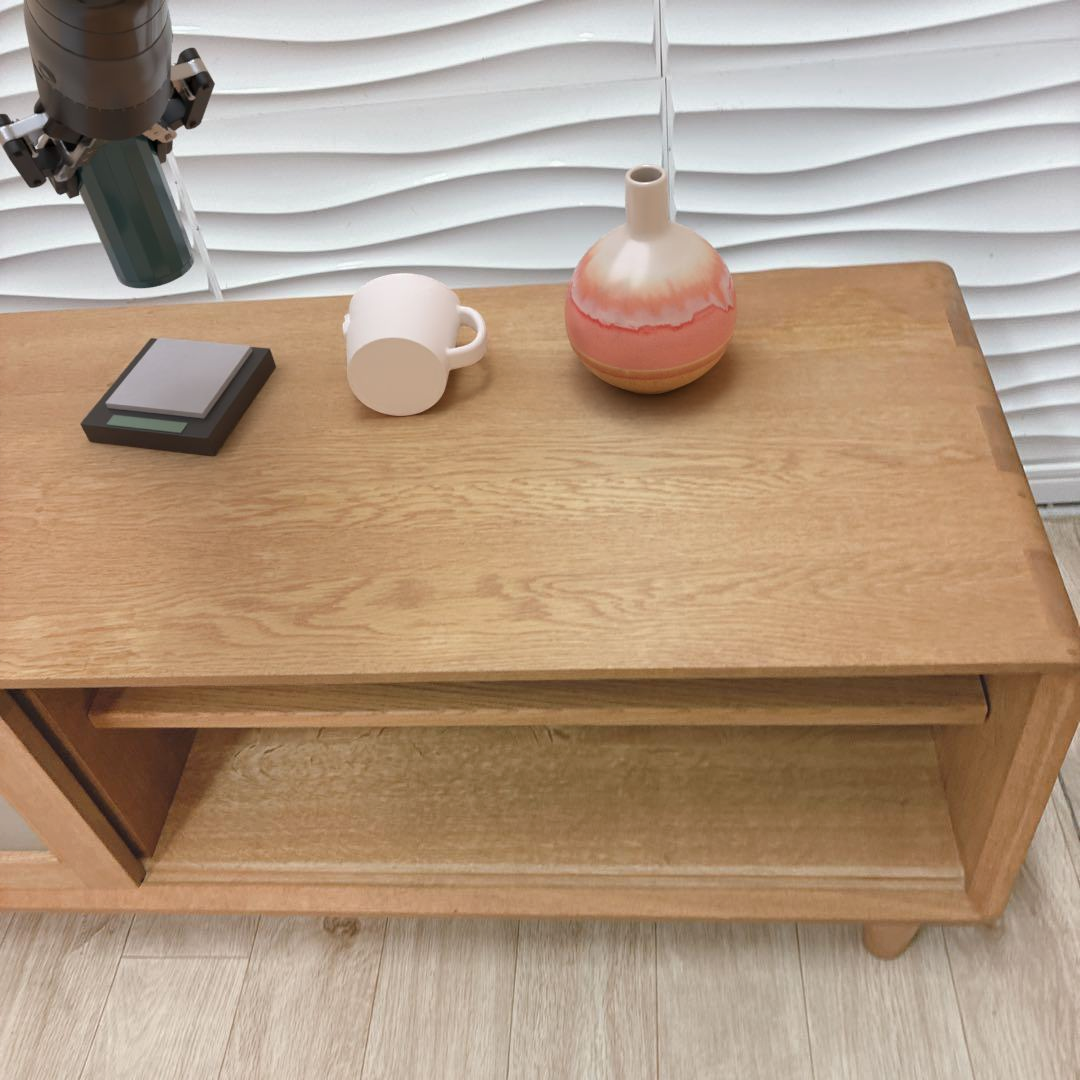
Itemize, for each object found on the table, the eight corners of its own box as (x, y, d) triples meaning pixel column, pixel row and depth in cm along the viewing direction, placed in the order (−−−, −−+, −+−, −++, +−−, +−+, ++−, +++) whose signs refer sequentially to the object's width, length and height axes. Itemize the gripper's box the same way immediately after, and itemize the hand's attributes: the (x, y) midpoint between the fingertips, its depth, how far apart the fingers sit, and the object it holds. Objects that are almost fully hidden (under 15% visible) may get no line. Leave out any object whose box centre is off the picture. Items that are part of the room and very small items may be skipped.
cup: (171, 291, 78) (113, 146, 70) (102, 286, 79) (37, 143, 71) (208, 248, 82) (157, 106, 74) (142, 244, 83) (84, 104, 75)
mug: (349, 421, 89) (326, 342, 83) (359, 353, 96) (338, 276, 90) (493, 408, 88) (479, 328, 83) (493, 340, 95) (481, 262, 89)
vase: (741, 419, 85) (751, 216, 72) (568, 427, 86) (547, 230, 73) (728, 317, 94) (734, 122, 81) (572, 326, 95) (554, 135, 83)
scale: (215, 456, 88) (204, 432, 86) (89, 441, 91) (76, 418, 89) (276, 366, 96) (268, 342, 94) (158, 355, 98) (148, 332, 97)
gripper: (185, -56, 63) (177, 86, 78) (-62, 21, 58) (-17, 156, 74) (249, 62, 63) (229, 179, 79) (10, 147, 58) (40, 255, 74)
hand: (110, 168), depth 76 cm, fingers closed on cup, 6 cm apart
